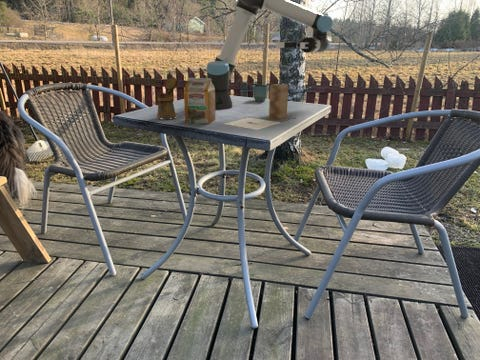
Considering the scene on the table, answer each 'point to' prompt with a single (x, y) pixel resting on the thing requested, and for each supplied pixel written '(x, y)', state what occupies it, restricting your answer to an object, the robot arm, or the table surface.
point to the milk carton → (199, 101)
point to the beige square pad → (252, 123)
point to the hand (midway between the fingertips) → (288, 45)
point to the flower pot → (260, 92)
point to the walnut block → (278, 101)
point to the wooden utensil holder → (167, 100)
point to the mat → (278, 119)
